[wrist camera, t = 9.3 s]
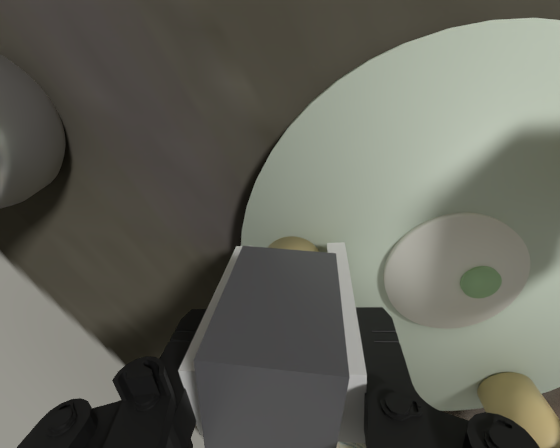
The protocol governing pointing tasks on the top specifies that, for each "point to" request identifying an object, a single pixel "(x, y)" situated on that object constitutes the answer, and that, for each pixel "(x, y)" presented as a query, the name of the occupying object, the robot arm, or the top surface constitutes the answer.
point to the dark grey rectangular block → (275, 352)
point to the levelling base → (438, 199)
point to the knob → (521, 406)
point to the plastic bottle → (26, 136)
